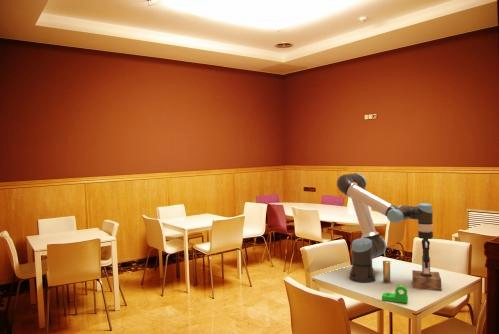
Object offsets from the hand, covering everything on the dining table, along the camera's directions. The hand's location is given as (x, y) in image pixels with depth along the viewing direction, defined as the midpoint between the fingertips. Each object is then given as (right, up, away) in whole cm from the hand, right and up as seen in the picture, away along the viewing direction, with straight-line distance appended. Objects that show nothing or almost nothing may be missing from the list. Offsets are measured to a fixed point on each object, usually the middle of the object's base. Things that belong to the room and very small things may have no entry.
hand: (426, 271), depth 216 cm
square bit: (0, -7, 0) cm, 7 cm away
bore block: (0, -8, 0) cm, 8 cm away
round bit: (-19, -8, +8) cm, 22 cm away
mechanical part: (-25, -10, -18) cm, 32 cm away
